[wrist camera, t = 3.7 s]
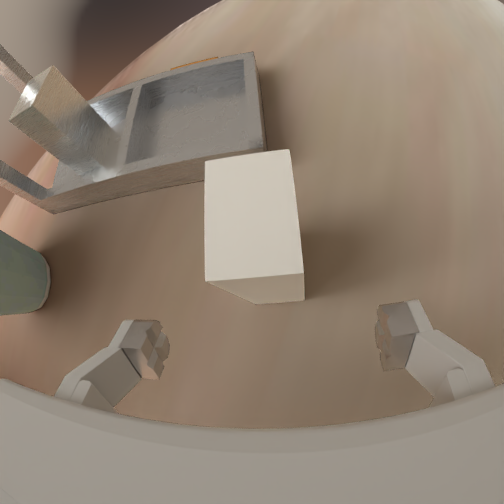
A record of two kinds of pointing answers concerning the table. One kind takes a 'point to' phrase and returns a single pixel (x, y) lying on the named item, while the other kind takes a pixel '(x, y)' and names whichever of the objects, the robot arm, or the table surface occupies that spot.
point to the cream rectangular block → (253, 228)
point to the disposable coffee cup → (21, 277)
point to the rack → (134, 129)
